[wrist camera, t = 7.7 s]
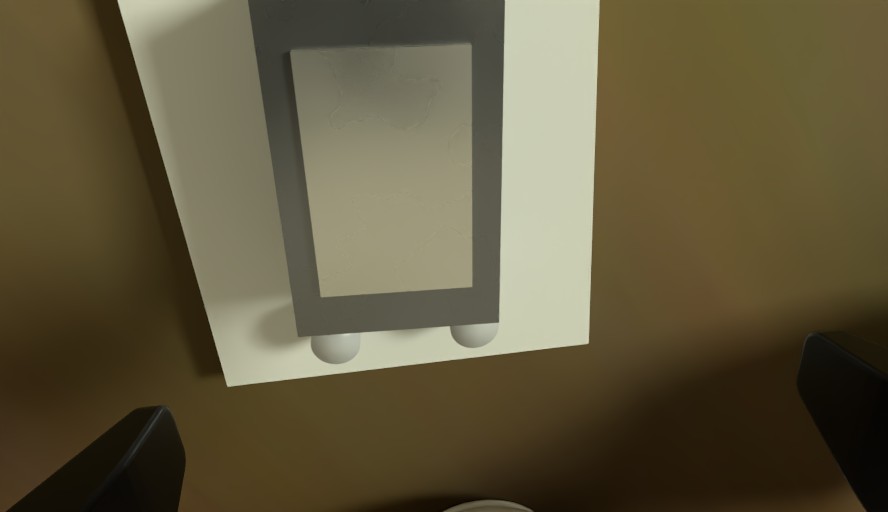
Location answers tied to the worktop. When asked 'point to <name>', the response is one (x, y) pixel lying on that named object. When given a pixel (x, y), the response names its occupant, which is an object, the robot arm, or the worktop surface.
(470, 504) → the lidded jar
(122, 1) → the white peg board
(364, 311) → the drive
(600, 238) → the worktop surface
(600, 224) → the worktop surface
